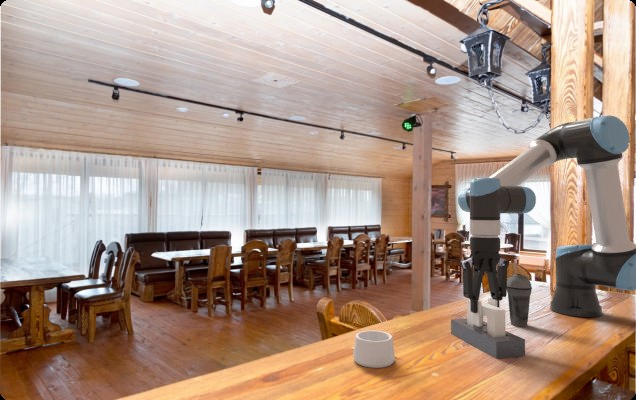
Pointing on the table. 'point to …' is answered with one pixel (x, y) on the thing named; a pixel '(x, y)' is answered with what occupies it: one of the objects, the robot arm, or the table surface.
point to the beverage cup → (518, 298)
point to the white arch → (489, 319)
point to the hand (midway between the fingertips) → (485, 324)
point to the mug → (373, 349)
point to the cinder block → (488, 340)
